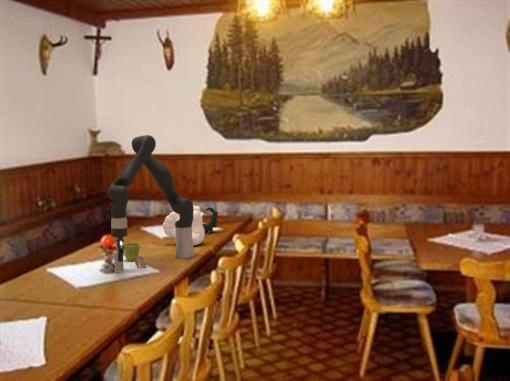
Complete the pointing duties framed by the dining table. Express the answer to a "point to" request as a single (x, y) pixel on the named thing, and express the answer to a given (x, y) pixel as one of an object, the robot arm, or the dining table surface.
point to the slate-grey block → (118, 264)
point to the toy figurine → (213, 222)
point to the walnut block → (140, 262)
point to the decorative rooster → (196, 225)
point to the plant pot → (131, 250)
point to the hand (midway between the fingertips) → (120, 261)
